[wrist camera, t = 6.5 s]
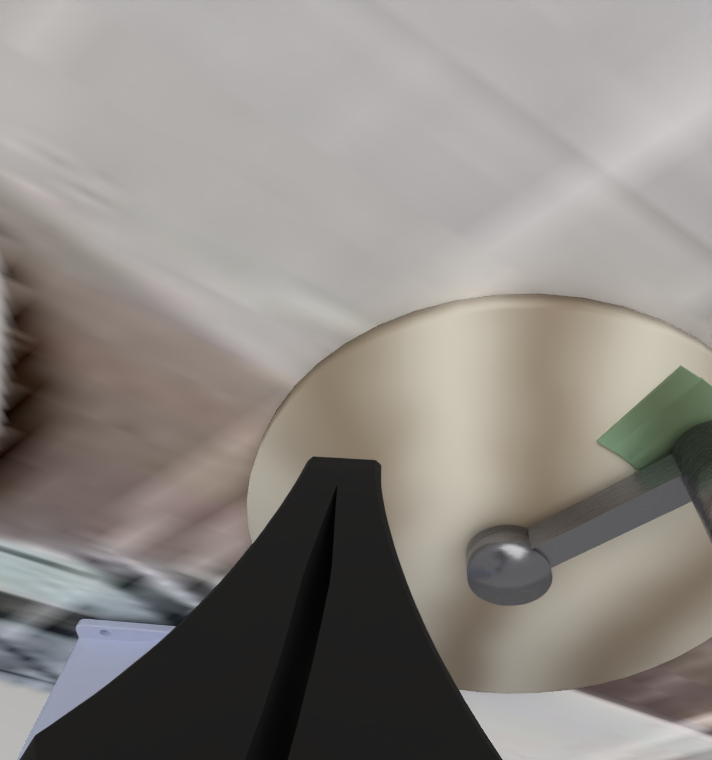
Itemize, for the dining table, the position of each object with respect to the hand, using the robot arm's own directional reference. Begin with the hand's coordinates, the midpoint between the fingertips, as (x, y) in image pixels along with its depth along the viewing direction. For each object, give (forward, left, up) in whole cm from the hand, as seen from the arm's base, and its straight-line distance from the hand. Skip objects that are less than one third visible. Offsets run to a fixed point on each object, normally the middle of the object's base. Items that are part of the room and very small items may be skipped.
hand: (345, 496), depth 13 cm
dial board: (+5, -10, -9) cm, 15 cm away
